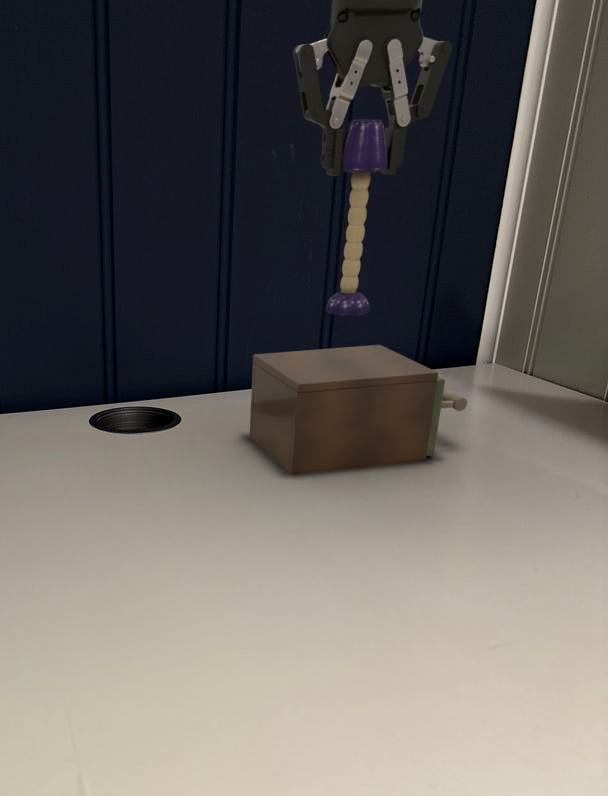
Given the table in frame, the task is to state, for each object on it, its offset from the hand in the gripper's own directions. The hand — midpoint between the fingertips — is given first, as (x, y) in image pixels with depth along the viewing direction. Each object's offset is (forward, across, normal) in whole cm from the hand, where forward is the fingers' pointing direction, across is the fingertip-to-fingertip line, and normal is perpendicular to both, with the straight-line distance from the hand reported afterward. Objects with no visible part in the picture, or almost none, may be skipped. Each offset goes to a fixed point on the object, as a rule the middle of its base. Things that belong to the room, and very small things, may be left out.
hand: (361, 173), depth 86 cm
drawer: (+26, +4, 0) cm, 26 cm away
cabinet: (+27, 0, 0) cm, 27 cm away
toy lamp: (+13, 0, 0) cm, 13 cm away
